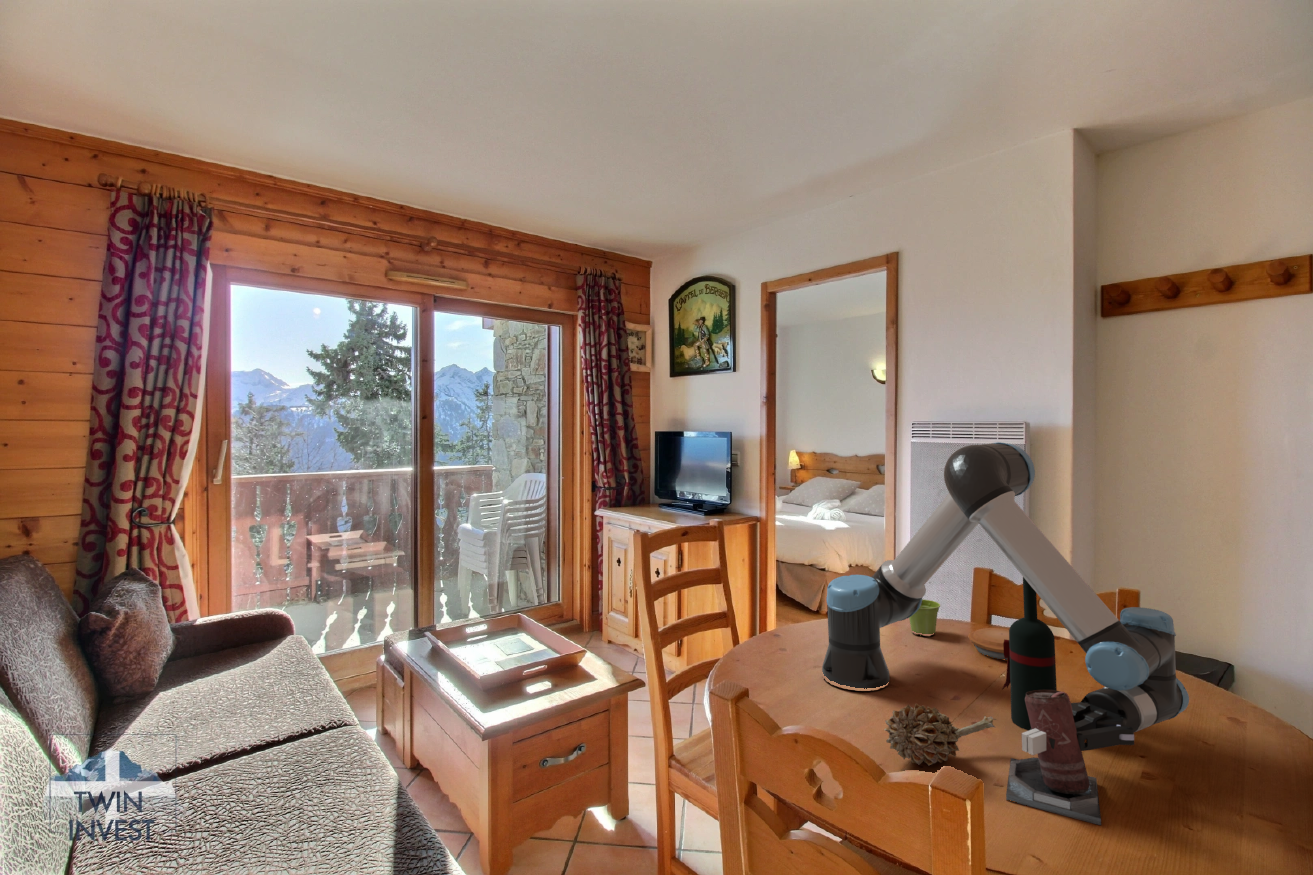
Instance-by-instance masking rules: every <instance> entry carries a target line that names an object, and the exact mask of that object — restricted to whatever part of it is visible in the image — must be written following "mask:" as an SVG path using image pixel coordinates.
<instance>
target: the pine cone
mask: <svg viewBox="0 0 1313 875" xmlns="http://www.w3.org/2000/svg"><path fill="white" fill-rule="evenodd" d="M891 714H892V715H891V716H890V717H889V719H886V720H884V721H885V724H886V725H887V727H885V728H884V729H883V731H885V732H887V733H888V734H889V735H888V738H887V739H886V743H887V744H890V746H889V749H893V750H895V751H896V752H897V755H899V756H900V757H901V758H902V759H903V760H905V759H906V758H907V759H909V760H910V761H911V763H914V764H918V765H919V766H920V765H921V764H922V763H923V762H924V763H925V764H927V765H928V766H932V765H933V764H936V763H938V762H939V763H941V764H942V763H943V761H945V762H947V761H948V760H949V759H948V758H949V755H951V756H953V757H956V756H957V751H958V752H959V751H960V749H959V746H958V744H957V742H959V739H960V738H962V737H965V736H968V735H971V734H973V733H977V732H980V731H983V730H985V729H989V728H990V729H991V728H996V726H995V725H994V724H993V722H994V721H996V720H997V719H996V718H993V716H986V715H985V716H984V717H983V719H982V720H980V721H978V722H975V723H974V724H971V725H967V726H964V727H962V728H959V727H956V726H955V725H954V723H952V721H951V720H950V717H949V716H947V715H946V714H945V713H941V712H940V711H939V710H938V709H937V708H936V707H932V708H931V707H929V706H927V708H926V706H925V705H920V704H918V703H915V704H914V707H912V706H911V705H910V704H907V705H906V706H904V707H903V708H900V709H899V710H892V713H891Z"/></svg>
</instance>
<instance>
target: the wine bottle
mask: <svg viewBox="0 0 1313 875" xmlns="http://www.w3.org/2000/svg"><path fill="white" fill-rule="evenodd" d="M1022 589H1023V590H1022V593H1023V595H1022V596H1023V617H1021V618H1019V619H1017V620H1015V621H1014V622H1013V623H1012V624H1011V625H1010V627H1009V640H1005V639H1004V643H1003V646H1004V657H1005V658H1008V661H1007V662H1006V674H1005V676H1006V677H1005V682H1004V684H1003V686H1002V688H1001V690H1004V689H1005V688H1006V689H1009V686H1010V719H1011V721H1012V723H1013V724H1014V725H1016V726H1017V727H1019V728H1020V729H1022V730H1023V729H1024V730H1026V731H1029V730H1030V728H1031V724H1030V720H1029V716H1028V711H1027V707H1026V703H1025V697H1026V693H1027V692H1029V691H1034V690H1056V691H1058V689H1057V667H1056V666H1057V665H1056V664H1057V663H1056V645H1055V644H1056V643H1055V642H1056V641H1055V635H1054V633H1053V630H1052V629H1051V628H1050V627H1049V626H1048V625H1047V624H1046V623H1045V622H1044V621H1042V620H1040V619H1038V601H1037V597H1038V596H1037V595H1038V594H1037V593H1036V592H1035V590H1034V589H1033V588H1032V587H1031V586H1030V584H1029V583H1028V582H1027V581H1026V580H1025V578H1024V577H1023V576H1022Z"/></svg>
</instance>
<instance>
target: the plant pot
mask: <svg viewBox="0 0 1313 875" xmlns="http://www.w3.org/2000/svg"><path fill="white" fill-rule="evenodd" d="M940 607H941V604H940V603H939V602H937V601H934V600H930V599H923V598H922V603H921V606H920V608H919V609H918V611H917V612H916V613H915V614H913V615H912V616H911V617H909V618H908V619H909V625H910V631H911V630H912V631H914V632H916V633H922V634H933V633H935V634H936V632H937V631H936V628H937V620H938V612H939V609H940ZM912 631H911V632H912Z"/></svg>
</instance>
